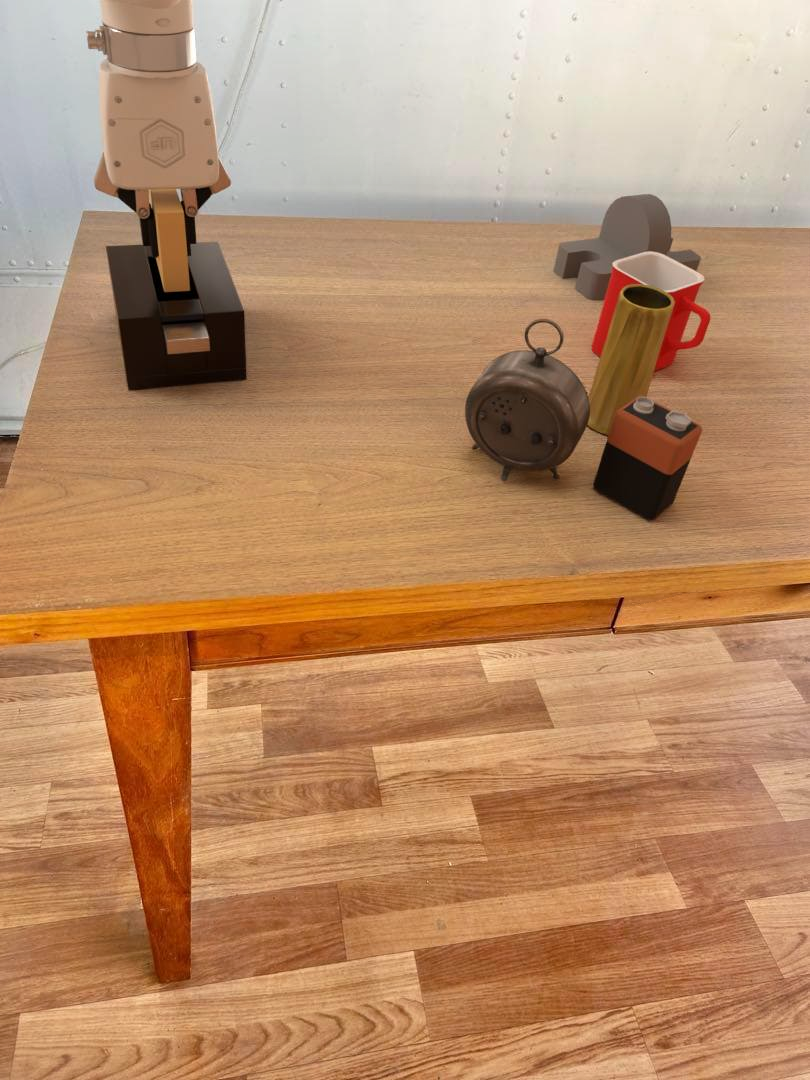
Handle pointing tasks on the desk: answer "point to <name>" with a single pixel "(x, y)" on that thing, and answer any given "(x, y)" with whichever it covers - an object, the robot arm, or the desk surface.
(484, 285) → the desk surface
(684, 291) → the mug
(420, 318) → the desk surface
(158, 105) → the robot arm
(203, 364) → the toaster
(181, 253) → the toast
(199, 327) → the lever
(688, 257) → the bracket
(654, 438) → the battery
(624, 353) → the vase
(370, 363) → the desk surface
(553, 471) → the alarm clock
